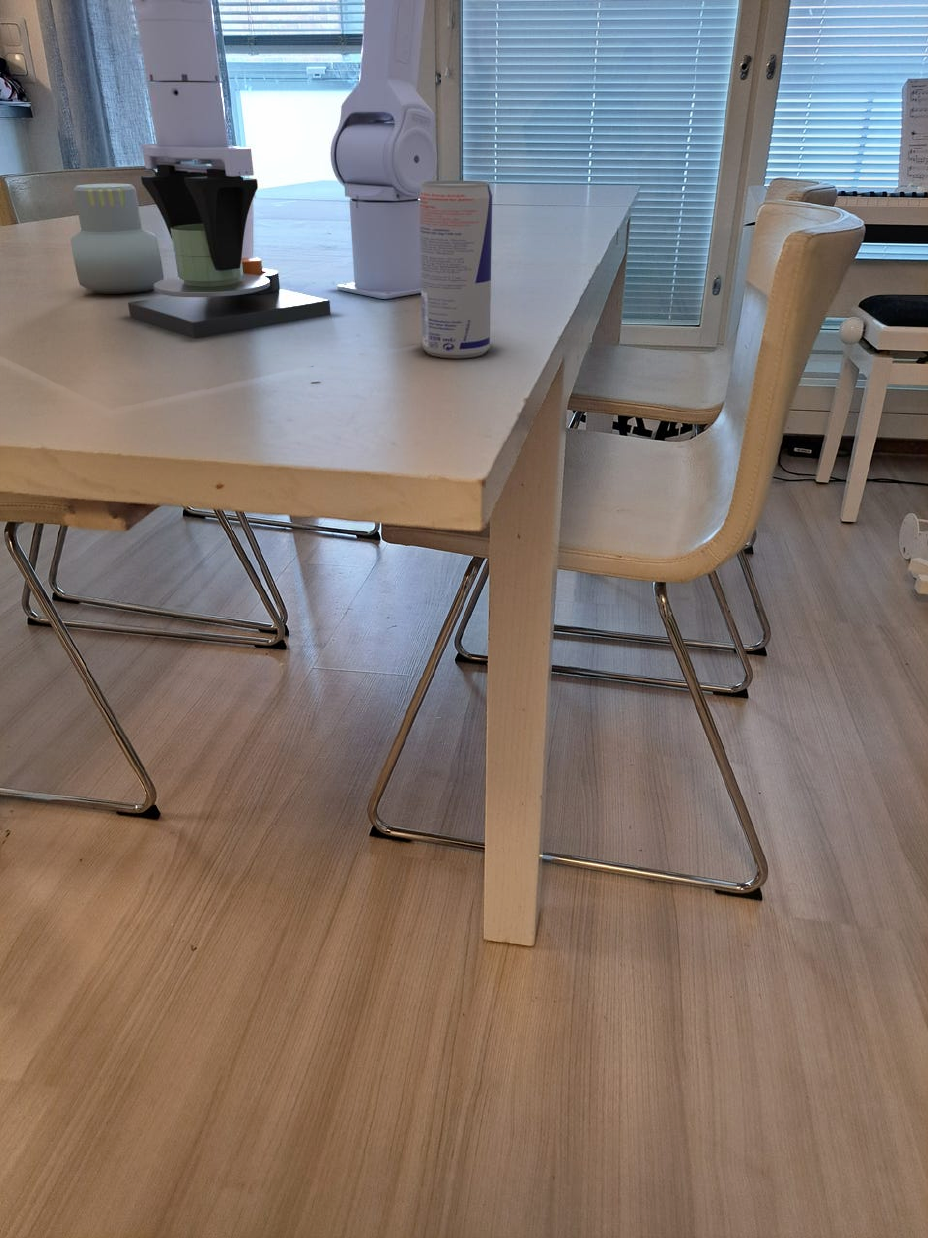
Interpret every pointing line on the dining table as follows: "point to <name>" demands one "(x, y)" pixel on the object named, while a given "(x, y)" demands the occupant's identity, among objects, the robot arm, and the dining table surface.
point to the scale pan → (179, 289)
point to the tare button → (252, 266)
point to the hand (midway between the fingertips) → (209, 265)
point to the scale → (229, 310)
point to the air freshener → (113, 241)
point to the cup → (199, 259)
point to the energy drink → (455, 267)
